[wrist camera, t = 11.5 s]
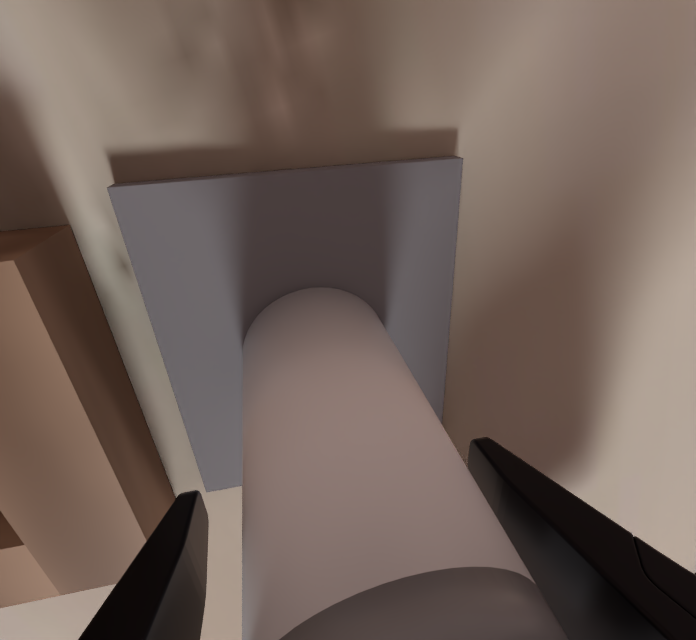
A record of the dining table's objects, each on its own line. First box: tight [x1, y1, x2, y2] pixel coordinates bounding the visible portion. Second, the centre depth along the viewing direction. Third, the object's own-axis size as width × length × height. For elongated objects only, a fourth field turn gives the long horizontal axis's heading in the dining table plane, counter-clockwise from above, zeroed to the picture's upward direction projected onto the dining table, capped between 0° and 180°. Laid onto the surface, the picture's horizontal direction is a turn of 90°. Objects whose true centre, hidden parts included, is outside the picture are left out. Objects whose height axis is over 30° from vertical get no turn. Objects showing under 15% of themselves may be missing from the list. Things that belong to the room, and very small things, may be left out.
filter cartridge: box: [242, 287, 569, 640], centre depth 10 cm, size 5×5×10 cm
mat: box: [107, 156, 463, 492], centre depth 15 cm, size 10×12×1 cm
